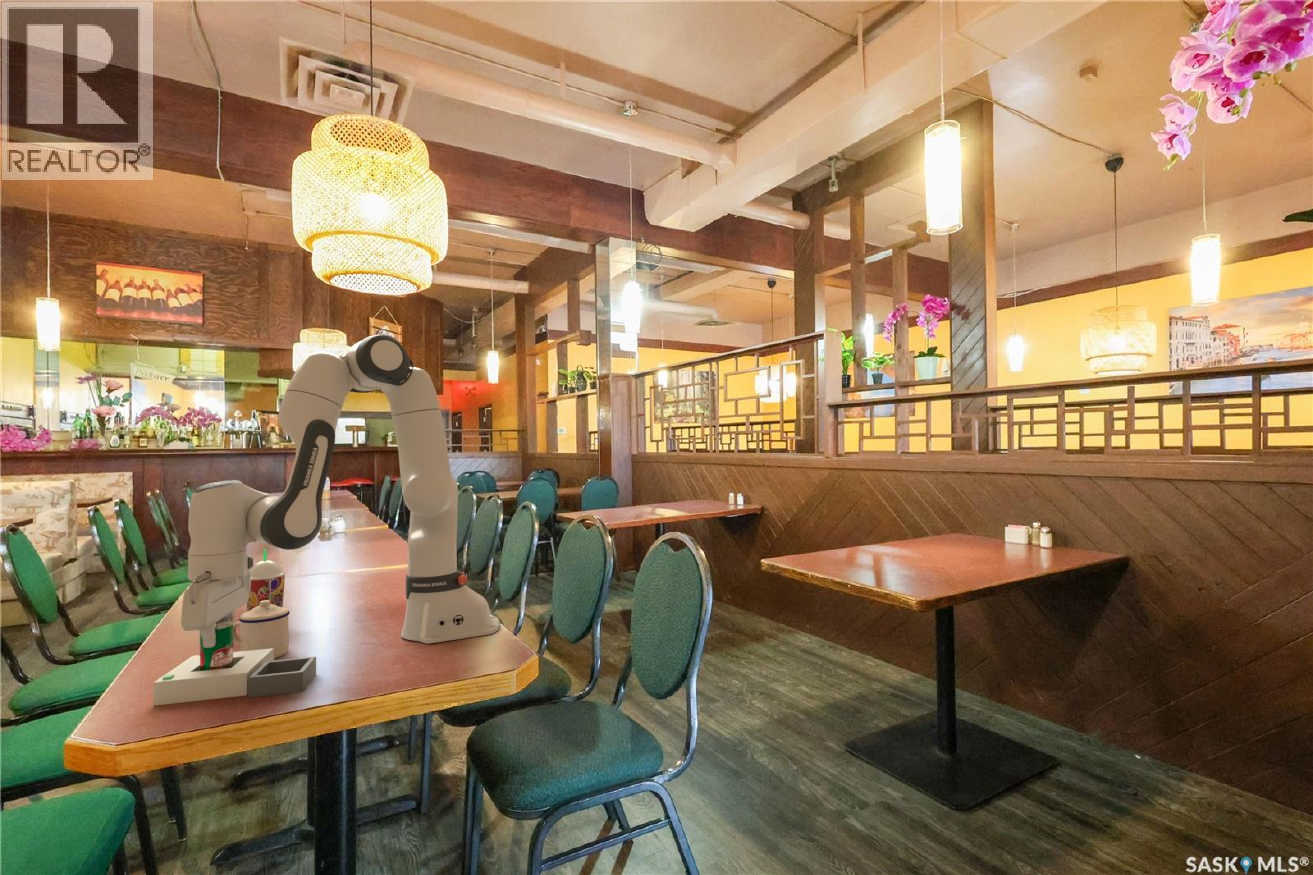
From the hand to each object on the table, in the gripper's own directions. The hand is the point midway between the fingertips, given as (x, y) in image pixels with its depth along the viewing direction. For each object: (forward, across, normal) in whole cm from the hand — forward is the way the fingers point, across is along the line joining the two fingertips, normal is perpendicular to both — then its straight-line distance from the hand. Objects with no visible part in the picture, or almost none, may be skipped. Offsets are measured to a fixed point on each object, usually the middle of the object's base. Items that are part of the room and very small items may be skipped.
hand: (218, 641), depth 111 cm
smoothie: (+8, +37, +4) cm, 38 cm away
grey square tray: (+8, -4, -12) cm, 15 cm away
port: (+8, 0, 0) cm, 8 cm away
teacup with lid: (+8, +17, -1) cm, 19 cm away
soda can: (+8, 0, 0) cm, 8 cm away
